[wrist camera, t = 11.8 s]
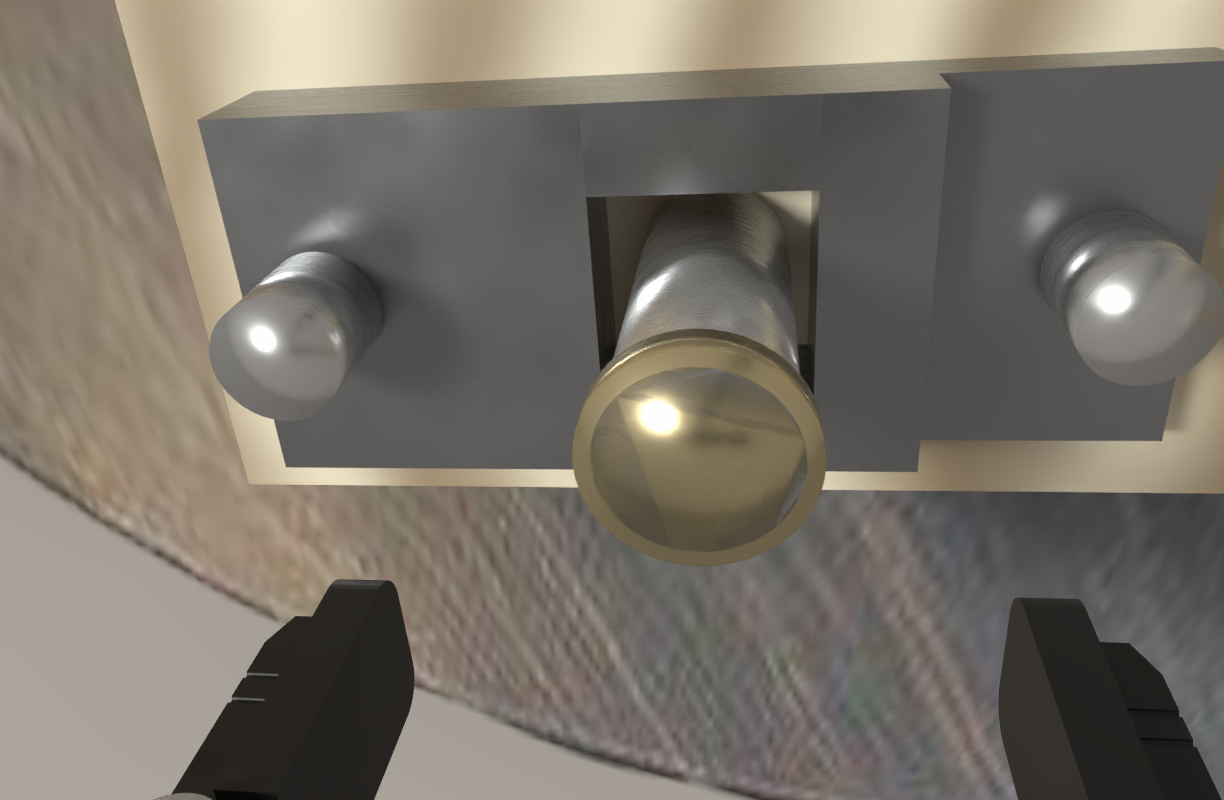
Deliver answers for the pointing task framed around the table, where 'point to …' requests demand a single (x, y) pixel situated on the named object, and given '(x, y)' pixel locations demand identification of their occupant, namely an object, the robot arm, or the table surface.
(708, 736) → the table surface
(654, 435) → the pin
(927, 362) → the knobbed grey block
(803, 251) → the birch board
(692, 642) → the table surface
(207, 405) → the table surface
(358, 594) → the robot arm
